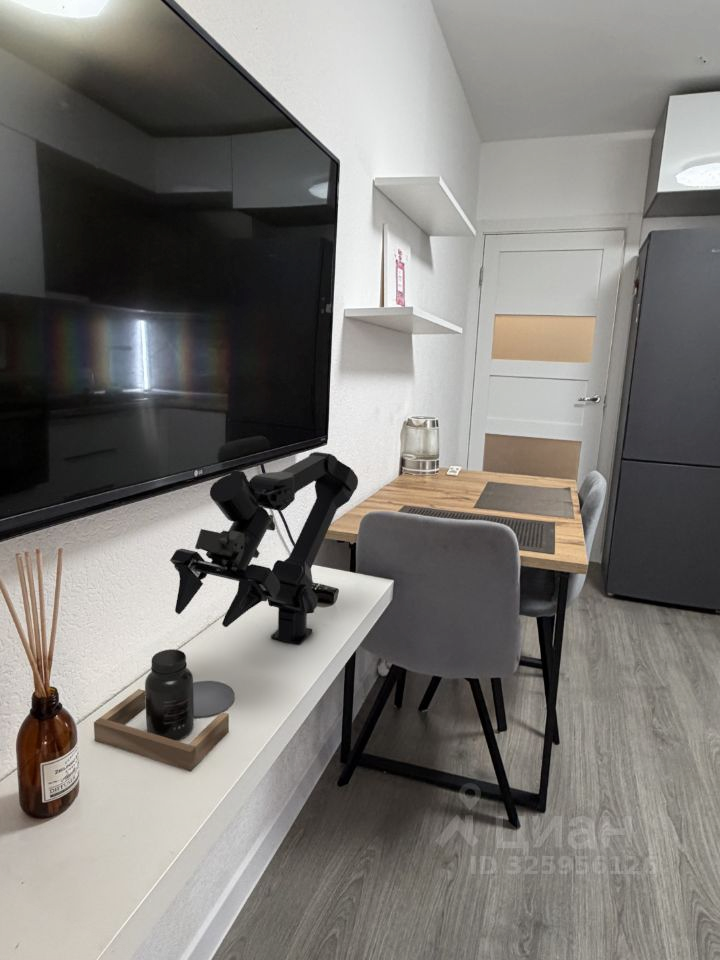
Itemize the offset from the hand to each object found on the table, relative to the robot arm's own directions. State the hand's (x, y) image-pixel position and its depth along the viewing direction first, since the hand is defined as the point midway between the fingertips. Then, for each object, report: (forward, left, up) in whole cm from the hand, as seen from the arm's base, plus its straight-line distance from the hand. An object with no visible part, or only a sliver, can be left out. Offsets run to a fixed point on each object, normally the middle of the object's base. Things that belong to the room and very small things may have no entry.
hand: (200, 619), depth 94 cm
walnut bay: (+9, 0, -15) cm, 17 cm away
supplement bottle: (+8, 0, -15) cm, 17 cm away
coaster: (-1, 0, -15) cm, 15 cm away
